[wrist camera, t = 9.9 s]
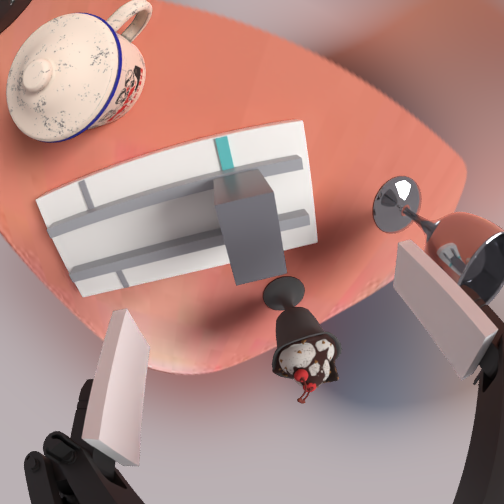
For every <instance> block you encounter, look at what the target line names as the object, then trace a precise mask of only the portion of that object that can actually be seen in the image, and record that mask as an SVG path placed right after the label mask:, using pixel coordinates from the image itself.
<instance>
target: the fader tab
mask: <svg viewBox="0 0 504 504" xmlns="http://www.w3.org/2000/svg"><path fill="white" fill-rule="evenodd" d="M213 181H214V204H215V209H216V213H217V217H218V220H219V224H220V228H221V232H222V235H223V239H224V243H225V246H226V250H227V254H228V257H229V261H230V265H231V268H232V272H233V275H234V279H235V282H236V285H241V284H245V283H249V282H253V281H257V280H262V279H266V278H270V277H274V276H278V275H282V274H286V273H287V269H286V263H285V256H284V250H283V244H282V237H281V231H280V225H279V219H278V213H277V207H276V201H275V195H274V191H273V190H272V188H271V187H270V185H269V184H268V182H267V181H266V179H265V178H264V176H263V175H262V174H261V172H260V171H259V169H255V170H251V171H246V172H242V173H237V174H233V175H229V176H224V177H220V178H216V179H213Z"/></svg>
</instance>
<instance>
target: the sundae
mask: <svg viewBox="0 0 504 504" xmlns="http://www.w3.org/2000/svg"><path fill="white" fill-rule="evenodd" d="M304 292H305V289H304V285H303V283H302V282H301V281H300V280H299V279H297V278H294V277H281V278H278V279H276V280H274V281H272V282H271V283H270V284H269V285H268V286H267V287H266V289H265V291H264V295H263V298H264V302H265V304H266V305H267V306H268V307H270V308H271V309H274V310H285V311H283V312H282V313H281V314H280V315H279V317H278V318H277V320H276V340H277V350H276V351H275V353H274V356H273V362H272V367H273V372H274V373H275V374H277V375H279V376H281V377H285V378H291V379H294V380H295V381H296V382H297V383H298V384H299V385H301V386H303V389H304V390H305V391H304V393H303V395H302V396H301V397H300V398H299V399H297V401H298V402H300V403H305V399H306V398H307V397H308V395H309V393H310V392H312V391H314V390H315V389H316V387H318V386H319V385H320V384H322V383H325V382H332V381H337V380H338V379H339V377H338V373H337V369H336V366H335V360H336V359H337V358H338V357H339V356H340V354H341V349H342V348H341V344H340V342H339V341H338V339H337V338H336V337H335V336H334V335H333V334H331V333H329V332H324V330H323V329H322V327H321V326H320V324H319V323H318V321H317V320H316V318H315V317H314V316H313V315H312V314H311V313H310V311H309V310H308V309H306V308H303V307H294V306H296V305H297V304H298V303H299V302H300V301H301V300H302V298H303V296H304ZM306 392H308V394H307V396H306V397H305V398H304V399H303V400H302V397H303V396H304V395H305V393H306Z"/></svg>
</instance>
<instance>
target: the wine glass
mask: <svg viewBox="0 0 504 504" xmlns="http://www.w3.org/2000/svg"><path fill="white" fill-rule="evenodd" d="M421 199H422V198H421V192H420V189H419V186H418V185H417V183H416V182H415V181H414V180H413V179H411V178H409V177H406V176H398V177H395V178H392V179H390V180H389V181H387V182H386V183H385V184H384V185H383V186H382V187H381V189H380V190H379V192H378V193H377V196H376V198H375V201H374V205H373V217H374V220H375V223H376V225H377V226H378V227H379V228H380V229H381V230H382V231H384V232H386V233H398V232H401V231H403V230H405V229H406V228H408V227H409V226H410V225H411V224H412V223H413V222H415V223H416V224H417V225H418V226H419V227H420V228H421V229H422V231H423V233H424V235H425V247H424V252H425V253H426V254H427V255H428V256H429V257H430V258H431V259H432V260H433V261H434V262H435V263H436V264H437V265H439V266H440V267H441V268H442V269H443V270H444V271H445V272H446V273H447V274H448V275H449V276H450V277H451V278H452V279H453V280H454V281H455V282H456V283H457V284H458V285H459V286H462V285H466V286H467V287H469V288H471V289H473V290H474V291H475V292H476V293H477V294H478V295H479V296H480V298H481V299H483V300H484V302H485V303H486V305H488V304H489V303H490V302H491V301H492V300H493V299H494V297H495V296H496V295H497V294H498V293H499V291H500V290H501V288H502V287H503V285H504V230H503V229H502V228H501V227H499V226H498V225H496V224H494V223H493V222H491V221H489V220H487V219H485V218H482V217H480V216H477V215H474V214H470V213H467V212H455V213H451V214H448V215H446V216H444V217H442V218H440V219H438V220H428V219H425V218H423V217H421V216H419V215H418V213H419V211H420V207H421Z"/></svg>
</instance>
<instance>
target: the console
mask: <svg viewBox="0 0 504 504" xmlns="http://www.w3.org/2000/svg"><path fill="white" fill-rule="evenodd" d="M255 169H259V171H260V172H261V174H262V175H263V176H264V178H265V179H266V181H267V182H268V184H269V185H270V187H271V188H272V190H273V191H274V195H275V201H276V207H277V213H278V219H279V225H280V231H281V237H282V244H283V250H288V249H292V248H296V247H301V246H305V245H309V244H313V243H317V242H318V240H317V229H316V218H315V209H314V200H313V191H312V182H311V174H310V167H309V159H308V152H307V145H306V138H305V132H304V125H303V121H302V120H298V119H293V120H286V121H280V122H274V123H269V124H263V125H258V126H253V127H248V128H243V129H238V130H233V131H229V132H224V133H220V134H216V135H211V136H207V137H203V138H199V139H196V140H192V141H188V142H184V143H181V144H177V145H174V146H170V147H167V148H163V149H160V150H157V151H153V152H150V153H147V154H144V155H141V156H138V157H135V158H132V159H129V160H126V161H123V162H120V163H117V164H115V165H112V166H109V167H106V168H104V169H101V170H98V171H96V172H93V173H91V174H88V175H86V176H83V177H81V178H78V179H76V180H73V181H71V182H69V183H66V184H64V185H62V186H59V187H57V188H55V189H53V190H50V191H48V192H46V193H44V194H43V195H42V196H40V197H39V198H37V199H36V202H37V205H38V207H39V210H40V212H41V214H42V217H43V219H44V222H45V224H46V226H47V232H48V234H49V236H50V238H52V239H53V242H54V244H55V246H56V248H57V250H58V252H59V254H60V256H61V258H62V260H63V262H64V264H65V266H66V268H67V270H68V272H69V276H70V278H71V280H72V281H73V282H74V283H75V284H76V286H77V288H78V290H79V292H80V293H81V295H82V297H86V296H91V295H95V294H99V293H104V292H108V291H113V290H117V289H121V288H127V287H130V286H134V285H139V284H143V283H147V282H152V281H156V280H160V279H165V278H169V277H173V276H178V275H182V274H186V273H191V272H195V271H199V270H203V269H208V268H212V267H216V266H221V265H225V264H229V263H230V261H229V257H228V254H227V250H226V246H225V243H224V239H223V235H222V232H221V228H220V224H219V220H218V217H217V213H216V209H215V204H214V181H213V179H216V178H220V177H224V176H229V175H233V174H237V173H242V172H246V171H251V170H255Z"/></svg>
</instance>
